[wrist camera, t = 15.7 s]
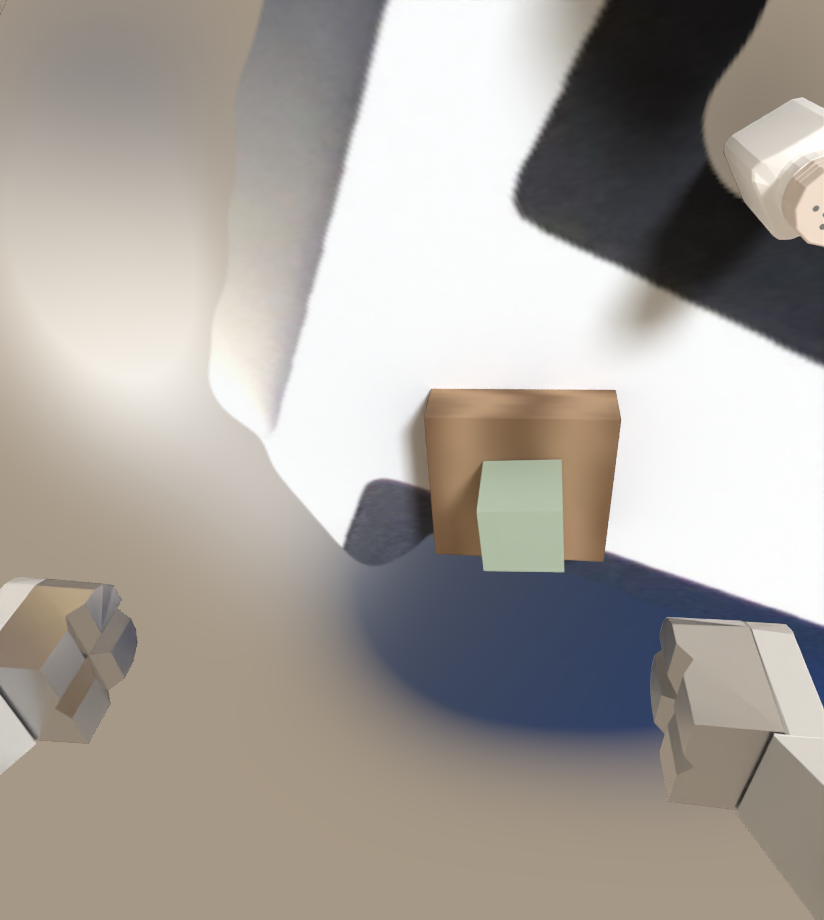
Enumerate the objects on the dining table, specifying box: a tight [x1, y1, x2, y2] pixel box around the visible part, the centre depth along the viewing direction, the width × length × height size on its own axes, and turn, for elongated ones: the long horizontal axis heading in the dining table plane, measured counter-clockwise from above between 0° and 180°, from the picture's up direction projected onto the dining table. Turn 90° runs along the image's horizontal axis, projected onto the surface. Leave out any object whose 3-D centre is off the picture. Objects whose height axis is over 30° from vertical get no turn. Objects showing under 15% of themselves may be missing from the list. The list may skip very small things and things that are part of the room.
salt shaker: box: [724, 97, 824, 247], centre depth 30 cm, size 4×4×10 cm
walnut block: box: [424, 389, 621, 561], centre depth 46 cm, size 12×12×4 cm
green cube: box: [477, 459, 564, 572], centre depth 42 cm, size 5×5×5 cm
